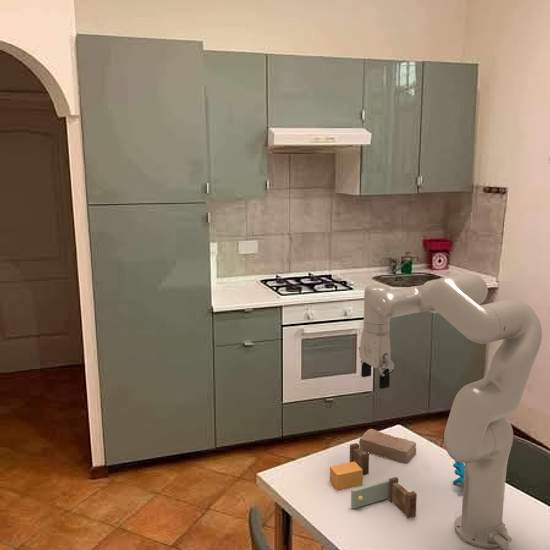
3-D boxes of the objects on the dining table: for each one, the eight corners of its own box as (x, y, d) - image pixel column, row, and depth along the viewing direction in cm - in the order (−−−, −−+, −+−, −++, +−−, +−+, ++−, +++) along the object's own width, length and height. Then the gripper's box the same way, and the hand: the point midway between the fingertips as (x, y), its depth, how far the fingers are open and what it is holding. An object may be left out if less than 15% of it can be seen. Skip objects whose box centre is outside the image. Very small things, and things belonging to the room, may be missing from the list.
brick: (417, 453, 185) (417, 440, 184) (407, 465, 178) (408, 451, 177) (368, 440, 194) (369, 427, 193) (358, 451, 187) (358, 437, 186)
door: (390, 494, 161) (390, 478, 160) (395, 499, 159) (396, 482, 158) (350, 506, 156) (351, 489, 155) (355, 511, 154) (356, 493, 153)
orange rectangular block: (362, 485, 167) (362, 469, 166) (337, 491, 164) (337, 475, 163) (354, 476, 171) (354, 461, 170) (329, 482, 169) (329, 466, 168)
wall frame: (415, 516, 152) (416, 493, 151) (408, 518, 151) (409, 496, 150) (356, 462, 179) (356, 442, 178) (349, 464, 178) (349, 444, 177)
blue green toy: (474, 495, 158) (452, 462, 162) (457, 504, 161) (436, 471, 165) (488, 483, 167) (466, 452, 171) (472, 492, 170) (451, 461, 174)
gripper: (350, 321, 177) (349, 374, 180) (382, 336, 161) (380, 394, 165) (371, 318, 180) (369, 370, 183) (404, 333, 164) (402, 390, 167)
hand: (374, 381), depth 174 cm, fingers open, 9 cm apart
